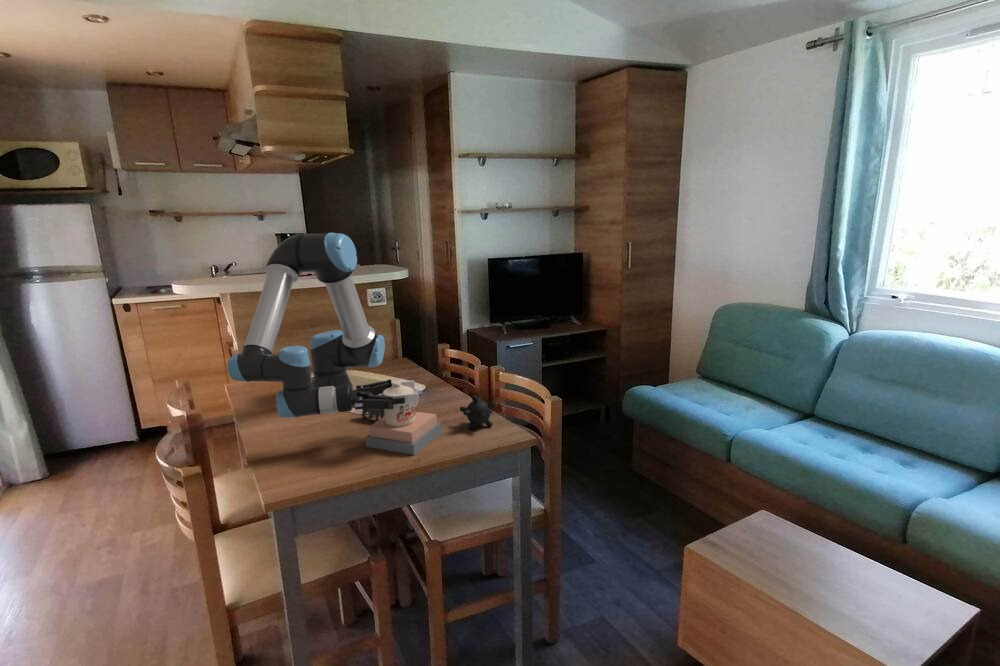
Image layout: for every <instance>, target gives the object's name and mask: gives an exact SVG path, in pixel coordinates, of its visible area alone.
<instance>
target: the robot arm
mask: <svg viewBox="0 0 1000 666" xmlns="http://www.w3.org/2000/svg"><path fill="white" fill-rule="evenodd" d="M357 254H358V253H357V249H356V246H355V244H354V242H353V241H352V239H351V237H349V236H348V235H346V234H344V233H336V232H328V233H297V234H293V235H291V236H289V237H287V238H285V239H284V240H283V241H281V243H279V244H278V245H277V246H276V248H275V249H274V251H273V252H271V255H270V257H269V258H268V260H267V263H266V266H265V269H264V272H265V274H266V277H265V280H264V284H263V286H262V290H261V293H260V296H259V299H258V302H257V304H256V309H255V311H254V314H253V318H252V320H251V323H250V327H249V329H248V333H247V335H246V339H245V342H244V345H243V348H242V351H241V353H234V354H232V355H231V357H230V358H228V361H227V365H226V370H227V374H228V376H229V377H230V378H231V379H232V381H233V380H234V381H235V382H236V381H237V382H247V383H250V382H270V383H271V382H272V383H273V382H274V383H275V382H276V383H280V382H281V383H282V388H283V389H282V390H280V391H278V392H277V393H276V397H275V404H276V406H275V407H276V412H277V414H278V416H279V417H281V418H283V419H285V418H299V417H306V416H307V417H309V416H316V415H324V414H325V415H326V416H328V415H330V414H333V413H336V412H339V413H345V412H346V413H347V412H351V411H352V410H353V406H354V409H355V410H357V411H358V410H362V409H393V405H403V404H412V403H417V393H418V392H417V393H411V394H401V395H393V397H388V396H382V393H383V391H384V390H386V389H388V388H391V387H392V386H394V383H396V382H397V381H393V382H392V379H387V380H382V381H378V382H373V383H367V384H359V385H356V386H355V387H356V389H354V385H353V383H352V382H351V380H350V377H349V374H348V371H347V368H368V369H370V368H377V367H379V366H380V365H381V364H382V362H383V360H384V355H385V350H386V349H385V348H386V347H385V346H386V345H385V344H386V343H385V337H384V335H381V334H377V333H376V331H375V328H373V326H370V325H369V324H368V321H367V317H366V315H365V311H364V309H363V306H362V304H361V300H360V297H359V294H358V291H357V289H356V285H355V283H354V279H353V276H352V275H353V274H354V271H355V268H357V264H358V256H357ZM302 273H315V275H316V277H317V280H318V282H321V283H322V284H325V288H326V290H327V293H328V296H329V297H330V300H331V303H332V305H333V308H334V311H335V313H336V316H337V319H338V321H339V324H340V326H341V329H342V330H340V329H334V330H329V331H323V332H320V333H316V334H314V335H313V336H311V338H310V340H309V350H308V348H307V347H306V346H302V345H290V346H285V347H283V348H280V349H279V350H278V353H273V350H274V349H275V345H276V341H277V338H278V335H279V331H280V328H281V325H282V321H283V318H284V316H285V315H284V314H285V312H286V307H287V303H288V301H289V299H290V298H289V297H290V294H291V292H292V288H293V286H294V285H293V284H294V283H296V282H297V281H299V277H300V274H302ZM309 351H310V355H309ZM310 356H311V360H310ZM311 364H312V366H311ZM311 367H312V368H311ZM311 369H312V371H313V377H312V371H311ZM399 382H400V383H401V385H404V386H407V387H411V388H412V389H413V390H414V391H415V380H414V379H412V380H404V381H402V380H401V381H399ZM417 404H418V403H417Z"/></svg>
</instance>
